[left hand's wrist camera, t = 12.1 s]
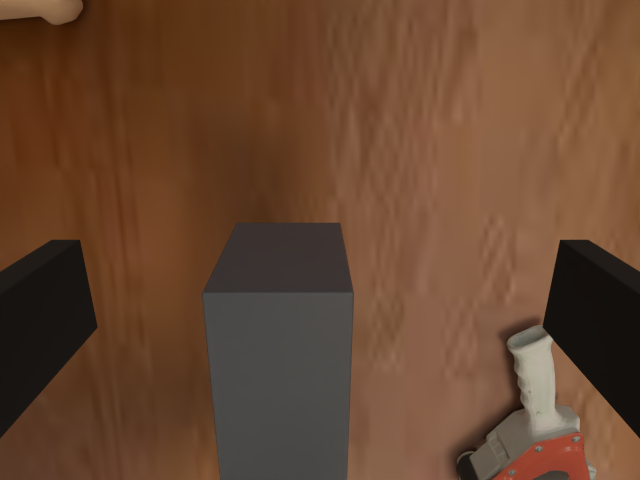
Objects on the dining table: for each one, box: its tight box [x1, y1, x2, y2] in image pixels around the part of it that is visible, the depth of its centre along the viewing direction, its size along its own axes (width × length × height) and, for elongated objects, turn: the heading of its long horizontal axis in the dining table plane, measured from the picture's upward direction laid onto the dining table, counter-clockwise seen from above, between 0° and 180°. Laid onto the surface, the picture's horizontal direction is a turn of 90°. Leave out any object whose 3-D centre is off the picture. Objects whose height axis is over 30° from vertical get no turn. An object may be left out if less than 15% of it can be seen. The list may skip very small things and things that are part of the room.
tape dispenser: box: [457, 325, 596, 480], centre depth 43 cm, size 18×5×20 cm
